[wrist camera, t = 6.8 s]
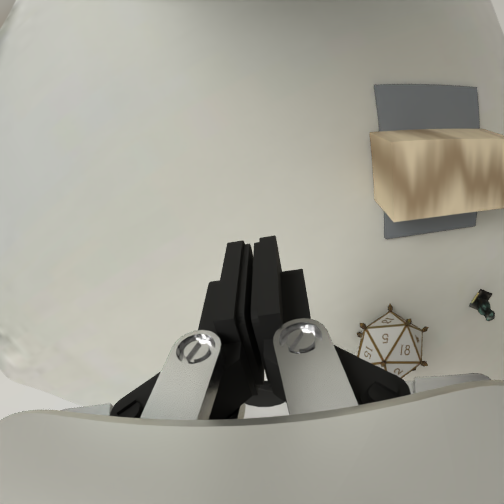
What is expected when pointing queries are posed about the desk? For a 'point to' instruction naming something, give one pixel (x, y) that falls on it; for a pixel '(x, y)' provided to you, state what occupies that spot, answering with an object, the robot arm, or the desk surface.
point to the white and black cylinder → (265, 403)
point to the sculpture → (483, 304)
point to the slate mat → (426, 117)
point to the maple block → (437, 172)
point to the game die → (392, 344)
